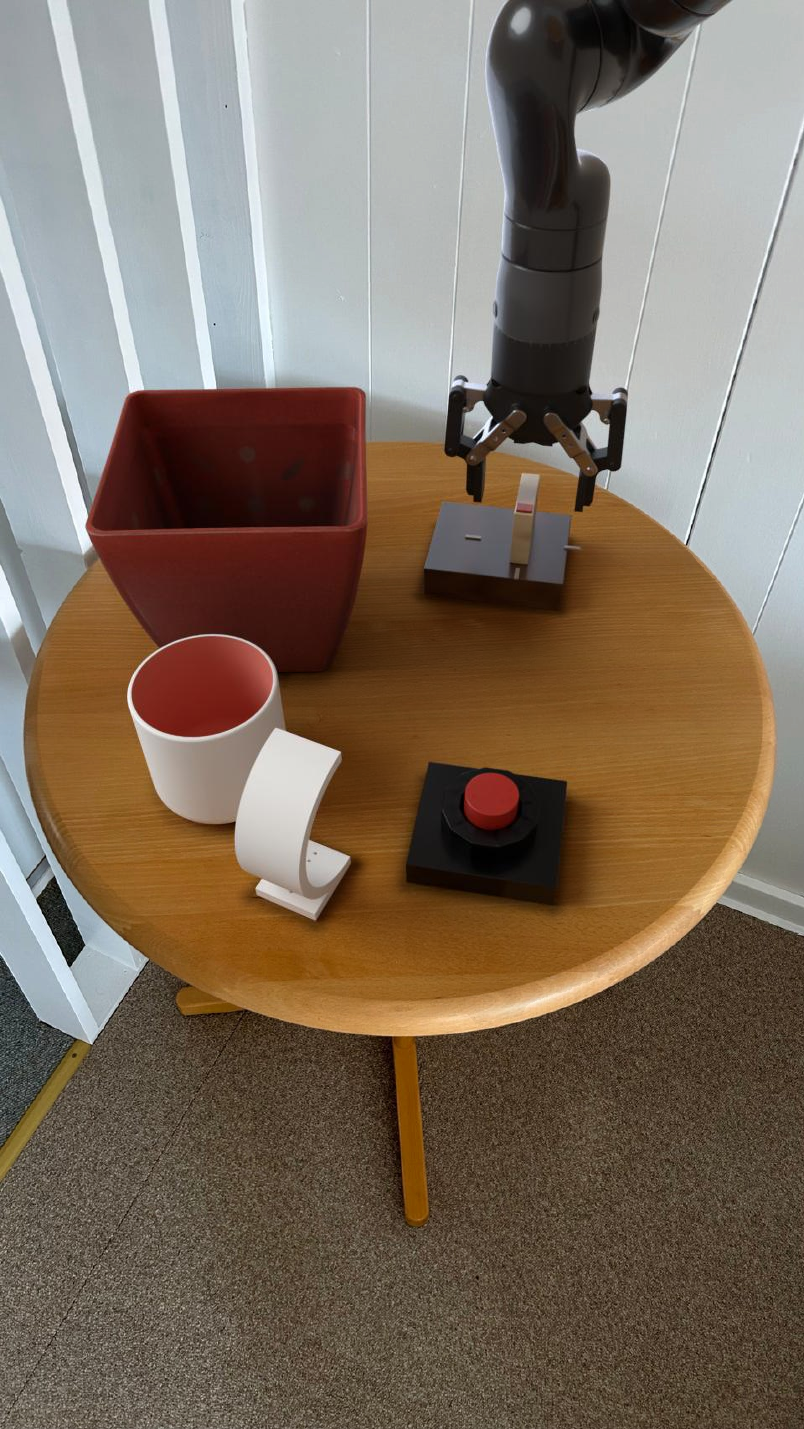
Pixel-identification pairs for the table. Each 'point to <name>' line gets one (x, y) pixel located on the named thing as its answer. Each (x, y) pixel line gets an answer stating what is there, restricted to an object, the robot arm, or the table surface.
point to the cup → (204, 721)
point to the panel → (496, 557)
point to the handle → (524, 518)
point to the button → (491, 801)
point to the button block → (488, 838)
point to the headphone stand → (288, 824)
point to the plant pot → (238, 516)
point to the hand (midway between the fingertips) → (528, 501)
